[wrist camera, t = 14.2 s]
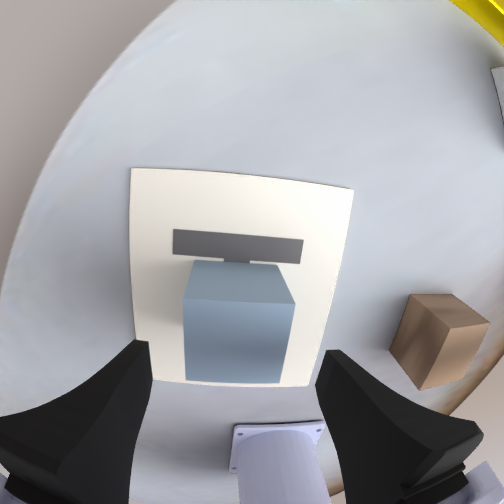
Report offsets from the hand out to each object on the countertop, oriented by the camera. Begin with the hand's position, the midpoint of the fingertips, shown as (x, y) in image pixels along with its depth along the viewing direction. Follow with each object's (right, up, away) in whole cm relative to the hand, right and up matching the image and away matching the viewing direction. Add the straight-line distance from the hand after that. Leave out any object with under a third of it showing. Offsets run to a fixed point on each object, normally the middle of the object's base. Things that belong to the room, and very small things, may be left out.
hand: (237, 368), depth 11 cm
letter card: (-1, +2, +6) cm, 6 cm away
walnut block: (+14, -1, +8) cm, 16 cm away
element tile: (+23, +32, -1) cm, 39 cm away
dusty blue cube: (0, +2, +5) cm, 6 cm away
